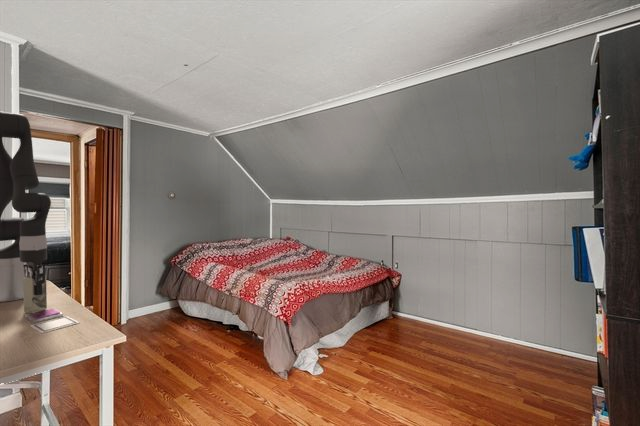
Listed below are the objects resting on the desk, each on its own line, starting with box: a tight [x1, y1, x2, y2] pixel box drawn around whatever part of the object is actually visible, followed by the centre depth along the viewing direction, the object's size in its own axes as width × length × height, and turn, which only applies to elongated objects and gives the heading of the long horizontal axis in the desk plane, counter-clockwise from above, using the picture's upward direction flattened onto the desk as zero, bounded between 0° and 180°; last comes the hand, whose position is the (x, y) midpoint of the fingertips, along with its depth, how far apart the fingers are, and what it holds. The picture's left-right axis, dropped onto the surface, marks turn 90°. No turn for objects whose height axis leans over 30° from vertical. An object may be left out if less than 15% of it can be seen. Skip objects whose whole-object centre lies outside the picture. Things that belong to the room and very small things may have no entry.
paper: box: [30, 315, 80, 334], centre depth 107 cm, size 10×10×1 cm
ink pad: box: [25, 308, 64, 324], centre depth 114 cm, size 8×8×1 cm
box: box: [23, 274, 48, 314], centre depth 119 cm, size 5×4×13 cm
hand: (35, 293), depth 119 cm, fingers closed on box, 5 cm apart
